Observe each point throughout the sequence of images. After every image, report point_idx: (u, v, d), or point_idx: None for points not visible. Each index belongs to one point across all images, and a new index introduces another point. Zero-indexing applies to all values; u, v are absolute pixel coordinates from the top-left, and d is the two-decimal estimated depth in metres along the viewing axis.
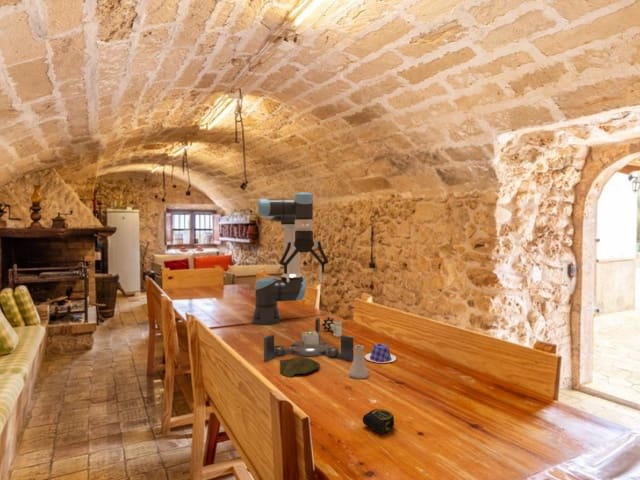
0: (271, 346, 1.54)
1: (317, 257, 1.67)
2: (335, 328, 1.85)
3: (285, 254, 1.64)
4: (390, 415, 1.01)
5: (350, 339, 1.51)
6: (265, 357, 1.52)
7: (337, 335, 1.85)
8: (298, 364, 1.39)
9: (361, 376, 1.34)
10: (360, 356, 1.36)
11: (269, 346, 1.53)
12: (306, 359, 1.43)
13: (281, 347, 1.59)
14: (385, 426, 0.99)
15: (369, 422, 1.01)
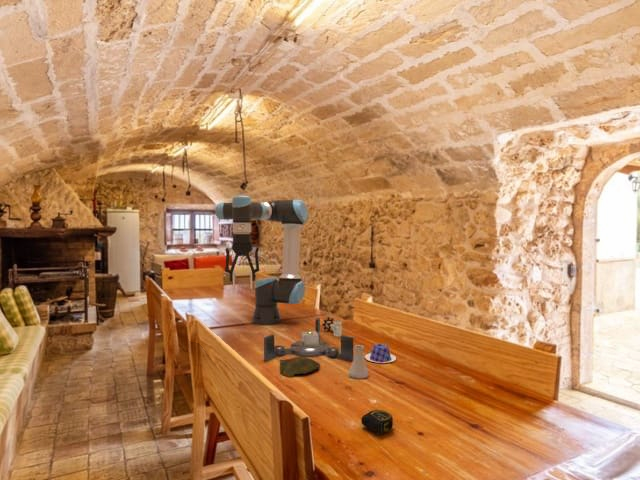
0: (271, 346, 1.54)
1: (250, 263, 1.66)
2: (335, 328, 1.85)
3: (227, 261, 1.64)
4: (389, 416, 1.01)
5: (350, 339, 1.51)
6: (265, 357, 1.52)
7: (338, 335, 1.85)
8: (298, 364, 1.39)
9: (361, 376, 1.34)
10: (360, 356, 1.36)
11: (269, 346, 1.53)
12: (306, 359, 1.43)
13: (281, 347, 1.59)
14: (384, 427, 0.98)
15: (368, 423, 1.00)
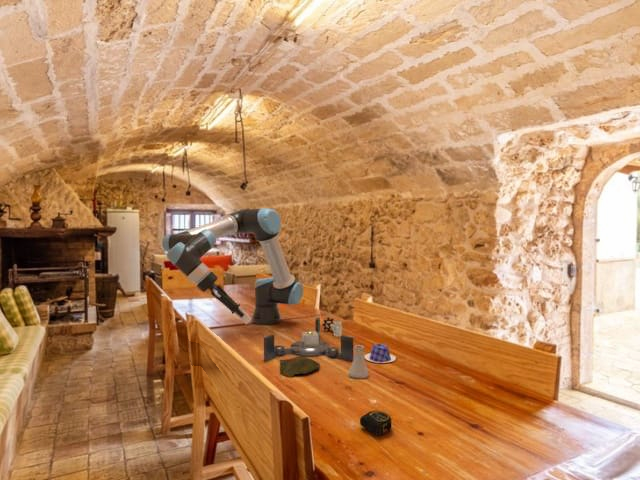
0: (271, 346, 1.54)
1: None
2: (335, 328, 1.85)
3: None
4: (387, 417, 1.00)
5: (350, 339, 1.51)
6: (265, 357, 1.52)
7: (338, 335, 1.85)
8: (298, 364, 1.39)
9: (361, 376, 1.34)
10: (360, 356, 1.36)
11: (269, 346, 1.53)
12: (306, 359, 1.43)
13: (281, 347, 1.59)
14: (382, 428, 0.98)
15: (367, 424, 1.00)
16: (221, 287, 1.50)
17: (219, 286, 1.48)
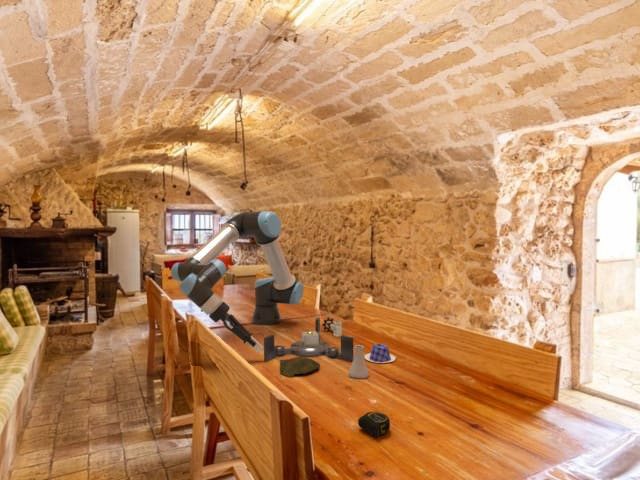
0: (271, 346, 1.54)
1: None
2: (335, 328, 1.85)
3: None
4: (386, 418, 1.00)
5: (350, 339, 1.51)
6: (265, 357, 1.52)
7: (338, 335, 1.85)
8: (298, 364, 1.39)
9: (361, 376, 1.34)
10: (360, 356, 1.36)
11: (270, 346, 1.53)
12: (306, 359, 1.43)
13: (281, 347, 1.59)
14: (380, 429, 0.97)
15: (365, 425, 0.99)
16: (233, 317, 1.51)
17: (231, 316, 1.49)
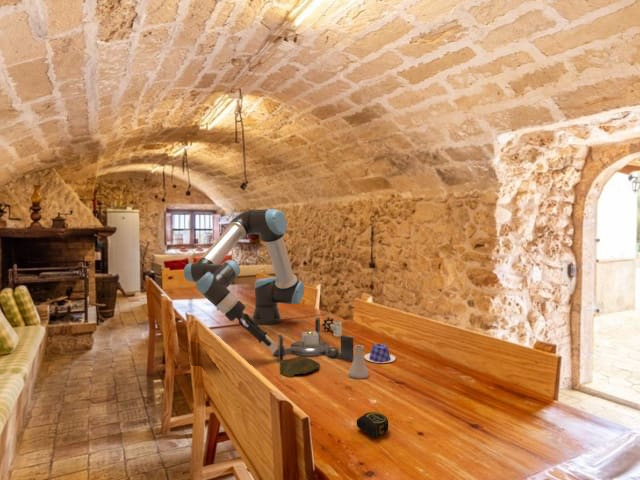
0: None
1: None
2: (335, 328, 1.85)
3: None
4: (384, 418, 1.00)
5: (350, 339, 1.51)
6: (281, 358, 1.51)
7: (338, 335, 1.85)
8: (298, 364, 1.39)
9: (361, 376, 1.34)
10: (360, 356, 1.36)
11: None
12: (306, 359, 1.43)
13: None
14: (379, 429, 0.97)
15: (363, 425, 0.99)
16: (248, 316, 1.52)
17: (246, 315, 1.49)
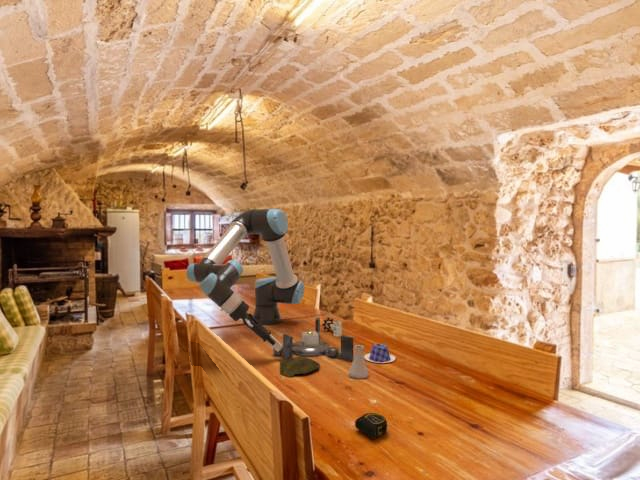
0: None
1: None
2: (335, 328, 1.85)
3: None
4: (383, 419, 0.99)
5: (350, 339, 1.51)
6: (291, 356, 1.52)
7: (338, 335, 1.85)
8: (298, 364, 1.39)
9: (361, 376, 1.34)
10: (360, 356, 1.36)
11: None
12: (306, 359, 1.43)
13: None
14: (378, 430, 0.97)
15: (362, 426, 0.99)
16: (252, 315, 1.52)
17: (251, 315, 1.50)
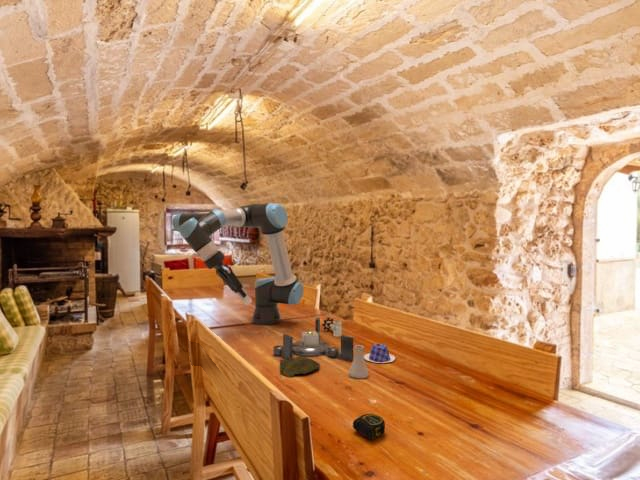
0: None
1: (230, 283, 1.52)
2: (335, 328, 1.85)
3: (225, 282, 1.57)
4: (381, 420, 0.99)
5: (350, 339, 1.51)
6: (291, 356, 1.52)
7: (337, 335, 1.85)
8: (298, 364, 1.39)
9: (361, 376, 1.34)
10: (360, 356, 1.36)
11: None
12: (306, 359, 1.43)
13: (281, 346, 1.60)
14: (375, 431, 0.96)
15: (360, 427, 0.98)
16: None
17: (226, 265, 1.52)
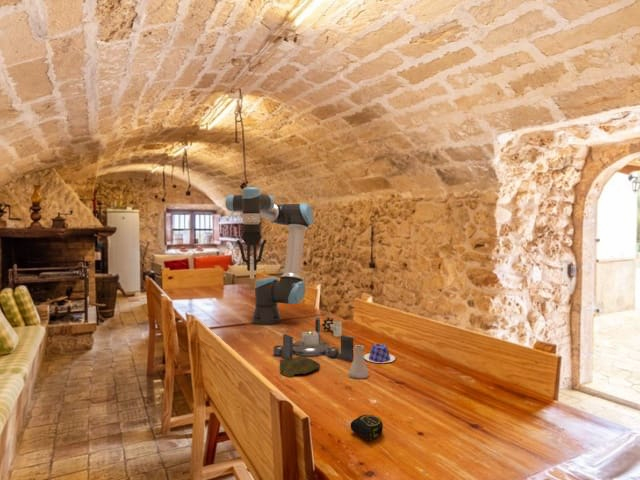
0: None
1: (254, 253, 1.73)
2: (335, 328, 1.85)
3: (242, 251, 1.72)
4: (378, 421, 0.98)
5: (350, 339, 1.51)
6: (291, 356, 1.52)
7: (338, 335, 1.85)
8: (298, 364, 1.39)
9: (361, 376, 1.34)
10: (360, 356, 1.36)
11: None
12: (306, 359, 1.43)
13: (281, 346, 1.60)
14: (373, 433, 0.96)
15: (357, 428, 0.98)
16: None
17: None
